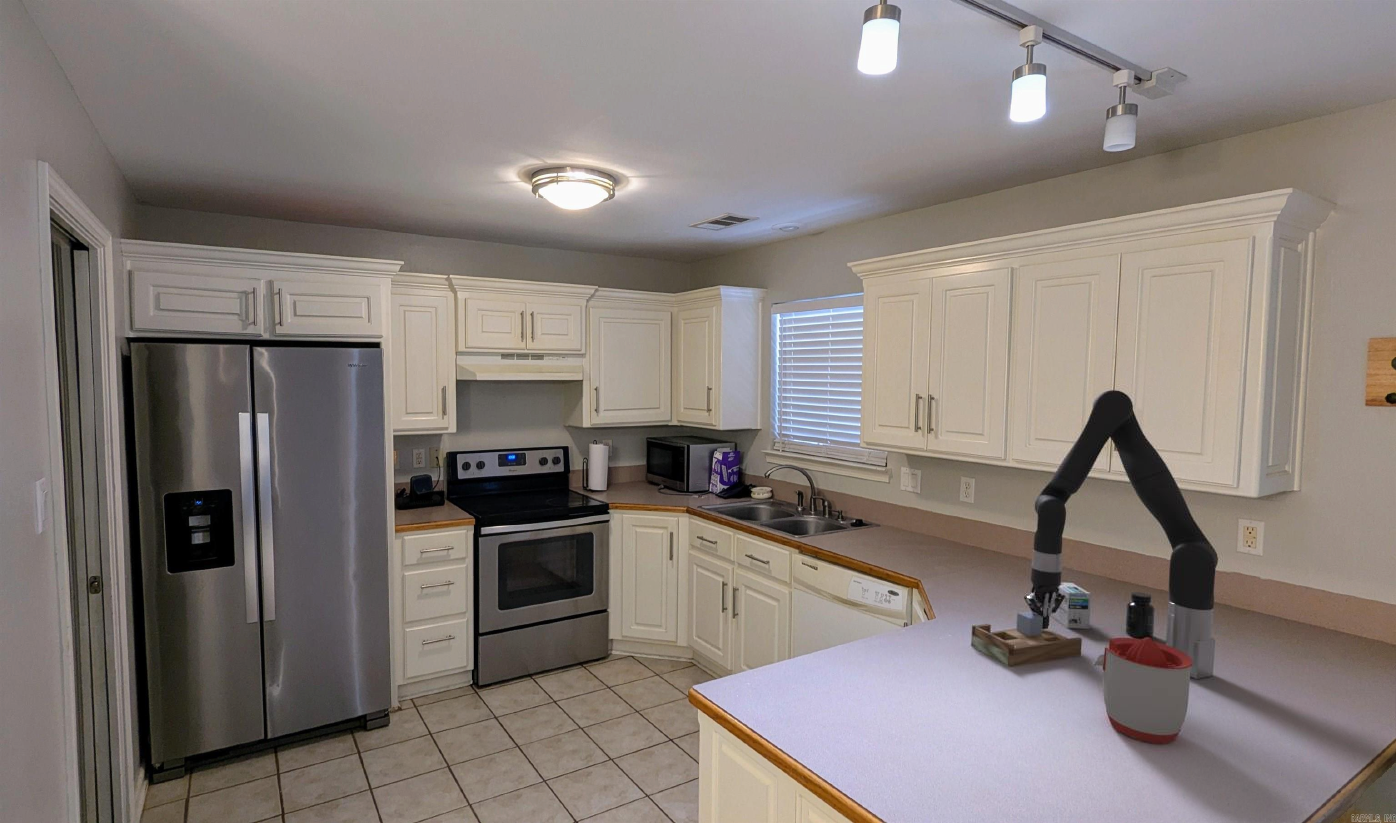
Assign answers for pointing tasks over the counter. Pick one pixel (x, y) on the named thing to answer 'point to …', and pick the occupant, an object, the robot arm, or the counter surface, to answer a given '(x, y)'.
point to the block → (1029, 623)
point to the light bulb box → (1073, 607)
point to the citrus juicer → (1145, 688)
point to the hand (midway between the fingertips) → (1042, 627)
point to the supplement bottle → (1140, 616)
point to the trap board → (1023, 645)
